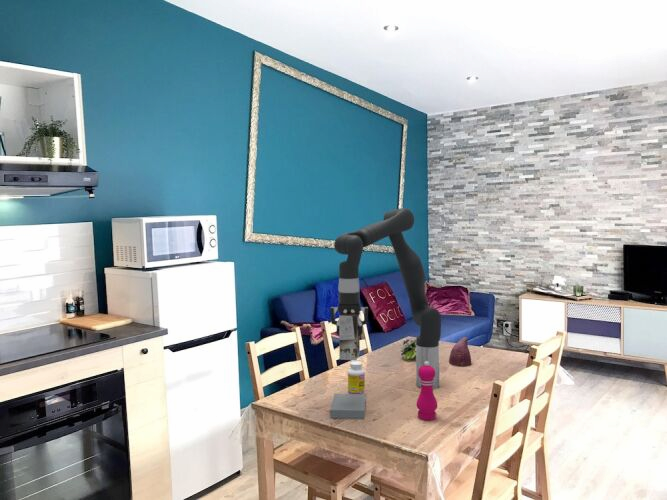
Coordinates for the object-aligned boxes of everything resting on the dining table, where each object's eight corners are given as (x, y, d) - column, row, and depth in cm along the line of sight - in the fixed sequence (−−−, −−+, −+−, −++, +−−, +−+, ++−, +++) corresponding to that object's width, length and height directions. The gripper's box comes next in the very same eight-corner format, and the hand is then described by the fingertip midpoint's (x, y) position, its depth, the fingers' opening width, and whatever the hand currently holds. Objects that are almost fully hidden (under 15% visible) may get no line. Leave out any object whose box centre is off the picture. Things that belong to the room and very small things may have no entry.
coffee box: (356, 360, 180) (356, 315, 179) (338, 359, 181) (338, 315, 180) (360, 353, 189) (359, 310, 188) (343, 352, 190) (342, 310, 189)
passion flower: (406, 367, 255) (409, 344, 261) (425, 366, 248) (428, 343, 254) (395, 359, 248) (398, 336, 254) (414, 358, 241) (417, 334, 247)
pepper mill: (414, 413, 182) (414, 358, 181) (434, 412, 183) (433, 358, 182) (419, 421, 175) (419, 364, 174) (439, 420, 176) (439, 363, 174)
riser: (365, 402, 194) (365, 394, 194) (364, 418, 178) (364, 410, 178) (334, 401, 195) (334, 393, 195) (330, 418, 179) (330, 409, 179)
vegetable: (472, 369, 243) (481, 339, 242) (465, 371, 234) (474, 341, 233) (452, 360, 249) (460, 331, 247) (444, 363, 240) (453, 333, 239)
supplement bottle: (360, 398, 198) (359, 366, 197) (345, 395, 201) (344, 364, 200) (367, 393, 204) (367, 361, 203) (352, 390, 207) (352, 359, 206)
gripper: (369, 288, 186) (369, 333, 187) (330, 288, 187) (330, 333, 189) (368, 291, 179) (369, 338, 180) (328, 291, 180) (328, 338, 181)
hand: (349, 335), depth 184 cm, fingers closed on coffee box, 6 cm apart
